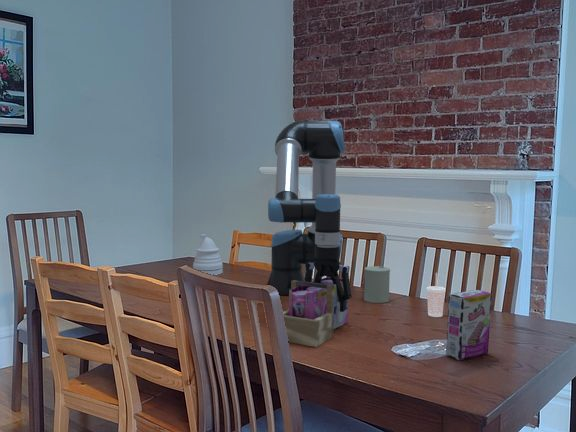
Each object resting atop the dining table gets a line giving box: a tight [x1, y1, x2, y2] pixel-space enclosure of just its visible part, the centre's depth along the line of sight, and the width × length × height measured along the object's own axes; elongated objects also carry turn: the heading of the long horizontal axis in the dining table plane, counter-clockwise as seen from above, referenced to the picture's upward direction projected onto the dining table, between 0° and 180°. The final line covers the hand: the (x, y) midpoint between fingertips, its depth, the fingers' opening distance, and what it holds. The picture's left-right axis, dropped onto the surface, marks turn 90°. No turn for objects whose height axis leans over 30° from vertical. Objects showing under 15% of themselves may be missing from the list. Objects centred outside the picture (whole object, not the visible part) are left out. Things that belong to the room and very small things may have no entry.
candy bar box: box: [445, 289, 492, 361], centre depth 153 cm, size 11×5×16 cm, turn 123°
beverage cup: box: [426, 272, 446, 318], centre depth 192 cm, size 6×6×14 cm
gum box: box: [288, 276, 349, 330], centre depth 175 cm, size 24×8×14 cm, turn 147°
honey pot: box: [192, 233, 224, 275], centre depth 255 cm, size 13×13×18 cm
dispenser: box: [282, 280, 334, 348], centre depth 166 cm, size 11×13×15 cm
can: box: [363, 265, 391, 304], centre depth 212 cm, size 9×9×12 cm
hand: (326, 319), depth 179 cm, fingers closed on gum box, 8 cm apart
